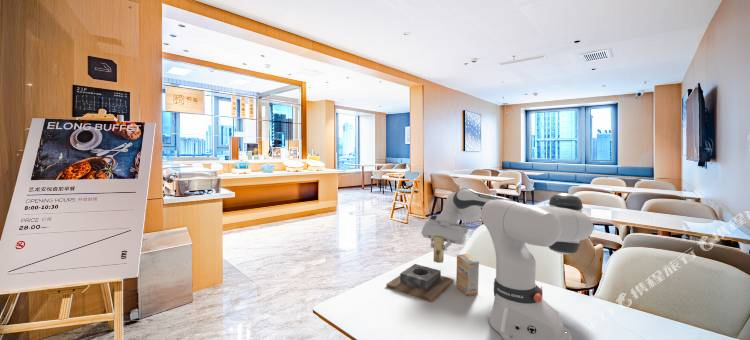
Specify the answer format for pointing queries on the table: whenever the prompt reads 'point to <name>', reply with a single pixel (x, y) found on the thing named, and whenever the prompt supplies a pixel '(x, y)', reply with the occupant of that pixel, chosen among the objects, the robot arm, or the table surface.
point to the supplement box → (467, 274)
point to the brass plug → (438, 249)
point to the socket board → (421, 292)
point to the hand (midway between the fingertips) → (438, 248)
